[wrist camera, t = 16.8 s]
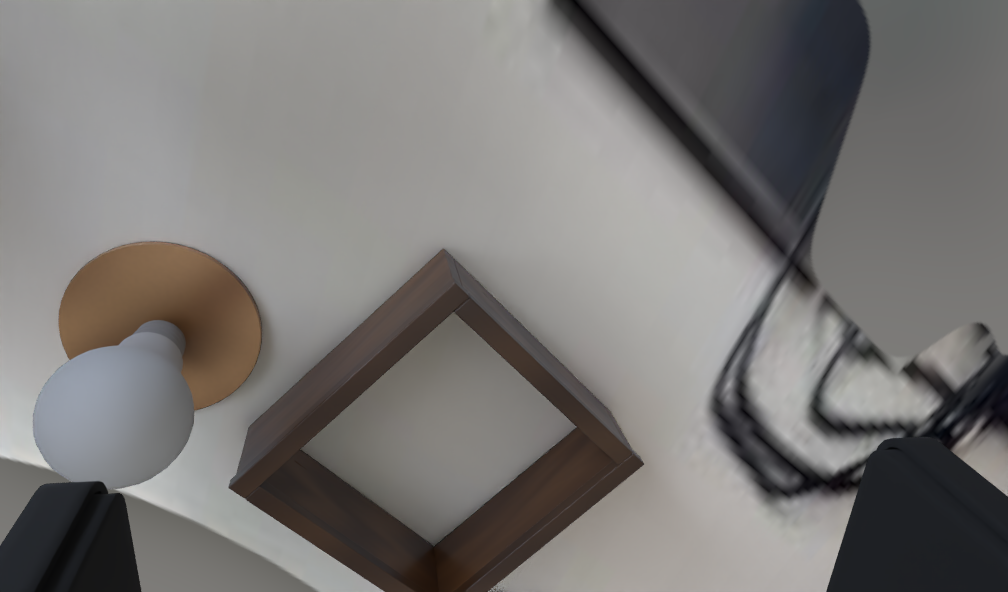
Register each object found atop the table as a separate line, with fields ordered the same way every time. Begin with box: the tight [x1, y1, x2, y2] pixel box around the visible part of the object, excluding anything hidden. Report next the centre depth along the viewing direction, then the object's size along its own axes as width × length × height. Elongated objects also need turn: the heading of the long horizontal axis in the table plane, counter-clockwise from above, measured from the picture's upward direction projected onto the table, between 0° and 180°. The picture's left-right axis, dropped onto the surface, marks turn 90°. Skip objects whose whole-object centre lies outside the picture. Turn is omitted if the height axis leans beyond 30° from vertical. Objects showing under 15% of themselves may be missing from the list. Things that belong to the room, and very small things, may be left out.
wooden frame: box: [229, 249, 644, 592], centre depth 41 cm, size 16×16×6 cm
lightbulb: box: [33, 320, 194, 489], centre depth 33 cm, size 6×6×11 cm
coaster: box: [59, 242, 262, 410], centre depth 38 cm, size 10×10×1 cm
